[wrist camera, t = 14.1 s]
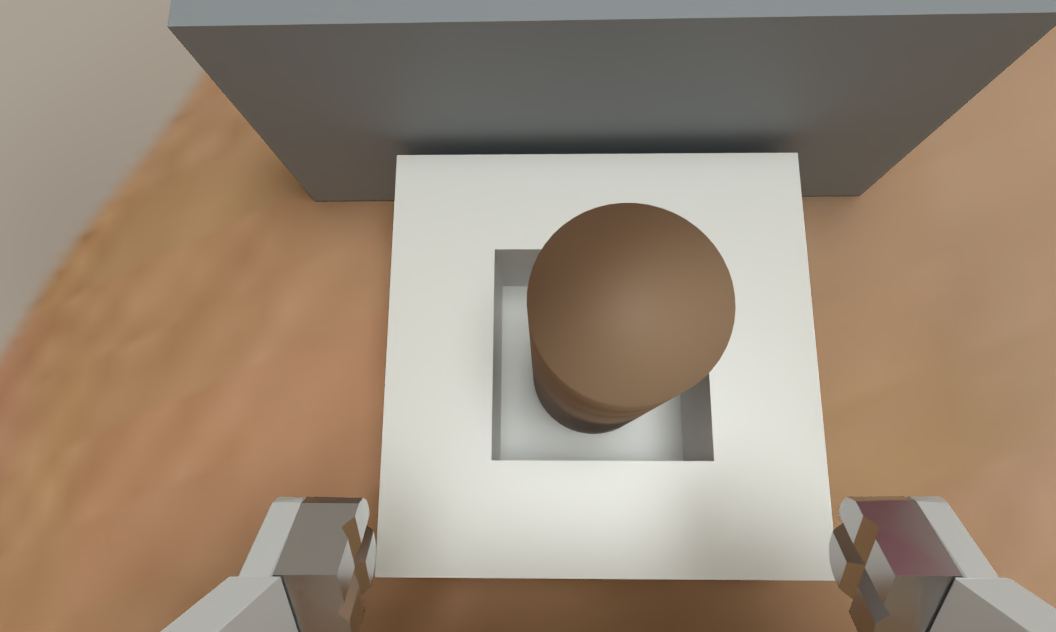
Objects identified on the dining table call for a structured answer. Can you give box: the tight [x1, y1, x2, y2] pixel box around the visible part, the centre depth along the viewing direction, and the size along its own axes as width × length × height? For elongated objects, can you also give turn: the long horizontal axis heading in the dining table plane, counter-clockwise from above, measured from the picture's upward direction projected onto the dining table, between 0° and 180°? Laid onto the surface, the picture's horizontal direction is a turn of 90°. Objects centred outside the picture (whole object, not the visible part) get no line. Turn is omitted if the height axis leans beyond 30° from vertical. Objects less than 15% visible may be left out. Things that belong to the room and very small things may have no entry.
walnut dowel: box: [527, 203, 736, 434], centre depth 18 cm, size 4×4×10 cm
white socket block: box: [375, 153, 835, 581], centre depth 21 cm, size 12×12×5 cm
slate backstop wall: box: [168, 0, 1056, 201], centre depth 20 cm, size 2×20×10 cm, turn 90°
